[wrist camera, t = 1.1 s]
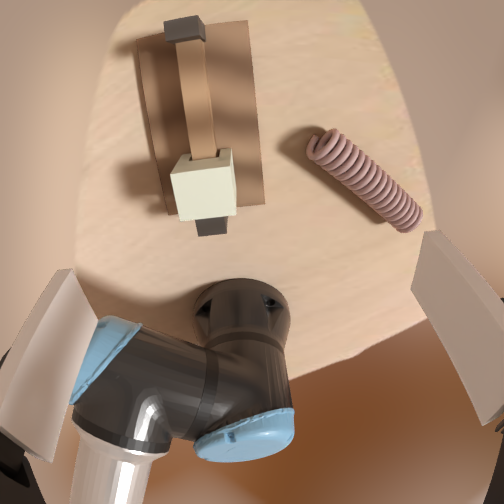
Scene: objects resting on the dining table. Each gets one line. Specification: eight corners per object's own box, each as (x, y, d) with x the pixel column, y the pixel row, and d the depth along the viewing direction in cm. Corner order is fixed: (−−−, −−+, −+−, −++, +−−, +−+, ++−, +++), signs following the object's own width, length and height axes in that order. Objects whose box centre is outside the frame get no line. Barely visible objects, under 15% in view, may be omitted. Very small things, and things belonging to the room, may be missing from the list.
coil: (306, 161, 31) (406, 243, 37) (335, 129, 29) (430, 219, 35) (301, 147, 35) (394, 223, 41) (325, 118, 32) (416, 201, 38)
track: (264, 201, 38) (269, 229, 32) (169, 212, 38) (158, 241, 32) (247, 21, 26) (249, 9, 20) (138, 40, 26) (116, 34, 20)
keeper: (236, 188, 36) (236, 215, 30) (189, 194, 36) (180, 221, 30) (231, 147, 33) (230, 166, 27) (182, 154, 33) (170, 174, 27)
